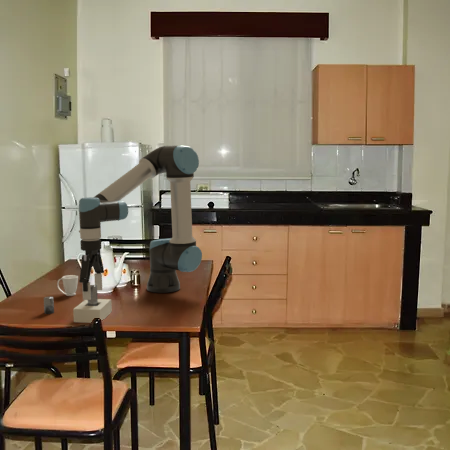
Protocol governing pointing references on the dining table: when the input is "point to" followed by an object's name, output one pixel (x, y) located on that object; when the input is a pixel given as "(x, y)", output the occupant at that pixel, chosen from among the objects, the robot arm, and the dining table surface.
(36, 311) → the dining table surface
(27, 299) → the dining table surface
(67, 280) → the cup
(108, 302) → the hole block
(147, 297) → the dining table surface
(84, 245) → the robot arm
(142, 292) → the dining table surface
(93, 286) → the long pin
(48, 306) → the short pin
